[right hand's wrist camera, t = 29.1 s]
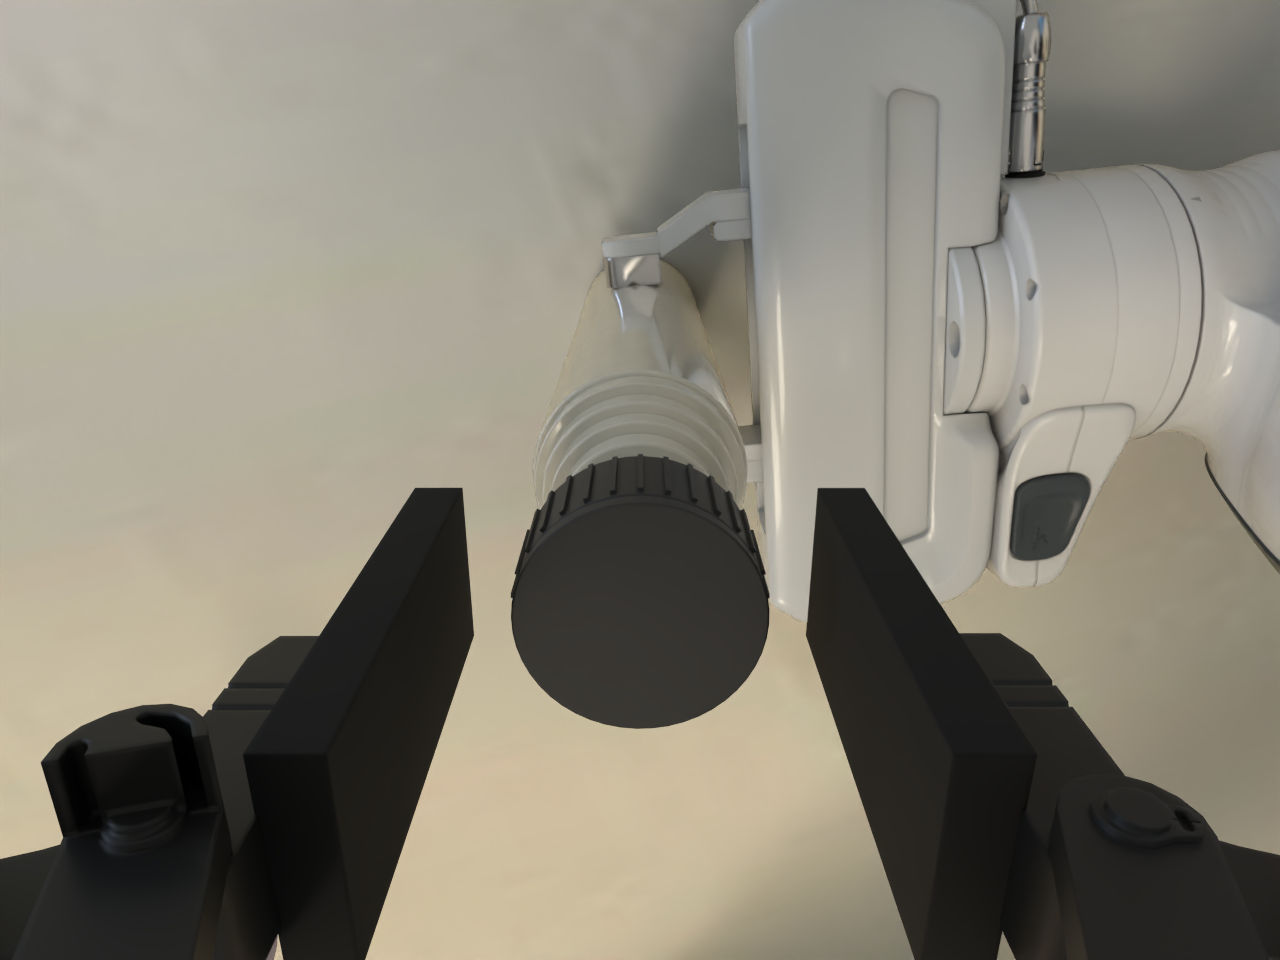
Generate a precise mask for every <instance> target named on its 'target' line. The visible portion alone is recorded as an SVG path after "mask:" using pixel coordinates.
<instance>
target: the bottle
mask: <svg viewBox="0 0 1280 960" xmlns="http://www.w3.org/2000/svg"><path fill="white" fill-rule="evenodd" d="M660 269H661V284H657V285H647V286H645V285H638V284H637V283H635V282H633V283H631V284H630V285H629V286H628V287H623V288H607V284H606V276H605V269H604V270H603V271H602V272H601V273H600V274H599V275H598V276H597V278H596V279H595V280H594V282H593V283H592V285H591V287H590V289H589V292H588V295H587V298H586V301H585V304H584V307H583V310H582V313H581V315H580V318H579V321H578V324H577V327H576V330H575V333H574V336H573V339H572V342H571V345H570V348H569V351H568V354H567V356H566V359H565V362H564V365H563V368H562V371H561V374H560V377H559V380H558V383H557V386H556V389H555V392H554V395H553V398H552V400H551V403H550V406H549V409H548V412H547V415H546V418H545V421H544V424H543V427H542V430H541V433H540V436H539V439H538V442H537V444H536V449H535V454H534V461H533V478H534V486H535V494H536V499H537V503H538V508H539V510H541V508H542V506H543V505H544V504H545V502H546V501H547V498H548V494H549V492H550V491H551V490H552V491H554V492H555V491H556V490H557V488H558V487H559V486H561V485H562V484H563V483H564V482H566V478H567V477H568V476H569V475H571V476H574V475H576V474H577V473H579V472H581V471H582V470H584V469H586V468H588V465H589V464H591V463H593V464H594V465H595V464H598V463H601V462H604V461H608V460H611V459H612V457H615V456H617V457H618V458H622V457H631V456H638V454H643V456H649V457H659V458H663V456H666V457H669V460H673V461H676V462H679V463H682V464H685V465H687V464H688V463H689V464H691V465H693V468H694V469H696V470H698V471H700V472H702V473H704V474H705V475H707V476H708V477H709V475H711V476H713V477H714V479H715V482H716V483H717V484H719V485H720V486H721V487H722V488H723V489H724V490H725V491H726V492H727V491H730V492H731V493H732V496H733V499H734V501H735V503H736V504H737V506H738V508H739V509H740V510H741V509H742V505H743V502H744V496H745V489H746V482H747V458H746V451H745V447H744V443H743V440H742V437H741V434H740V431H739V428H738V425H737V422H736V419H735V416H734V413H733V410H732V407H731V404H730V402H729V399H728V396H727V393H726V390H725V387H724V384H723V381H722V378H721V375H720V372H719V369H718V366H717V364H716V361H715V358H714V355H713V352H712V349H711V346H710V343H709V340H708V337H707V334H706V331H705V328H704V326H703V323H702V320H701V317H700V314H699V311H698V308H697V305H696V302H695V299H694V296H693V293H692V291H691V289H690V286H689V285H688V283H687V281H686V280H685V278H684V277H683V276H682V275H681V274H680V273H679V272H678V271H677V270H676V269H675V268H674V267H672V266H671V265H670V264H668V263H666V262H664V261H662V260H660Z"/></svg>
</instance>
